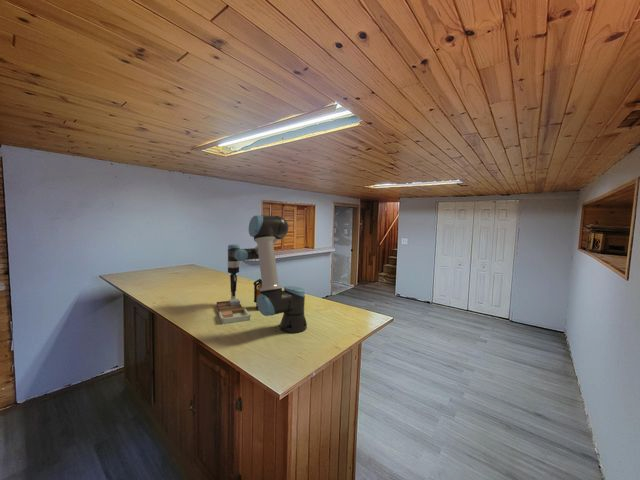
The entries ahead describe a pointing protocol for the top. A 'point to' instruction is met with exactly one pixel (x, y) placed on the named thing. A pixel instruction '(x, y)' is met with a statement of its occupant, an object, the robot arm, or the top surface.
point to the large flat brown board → (229, 307)
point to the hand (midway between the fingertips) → (233, 300)
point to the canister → (257, 290)
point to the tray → (235, 317)
